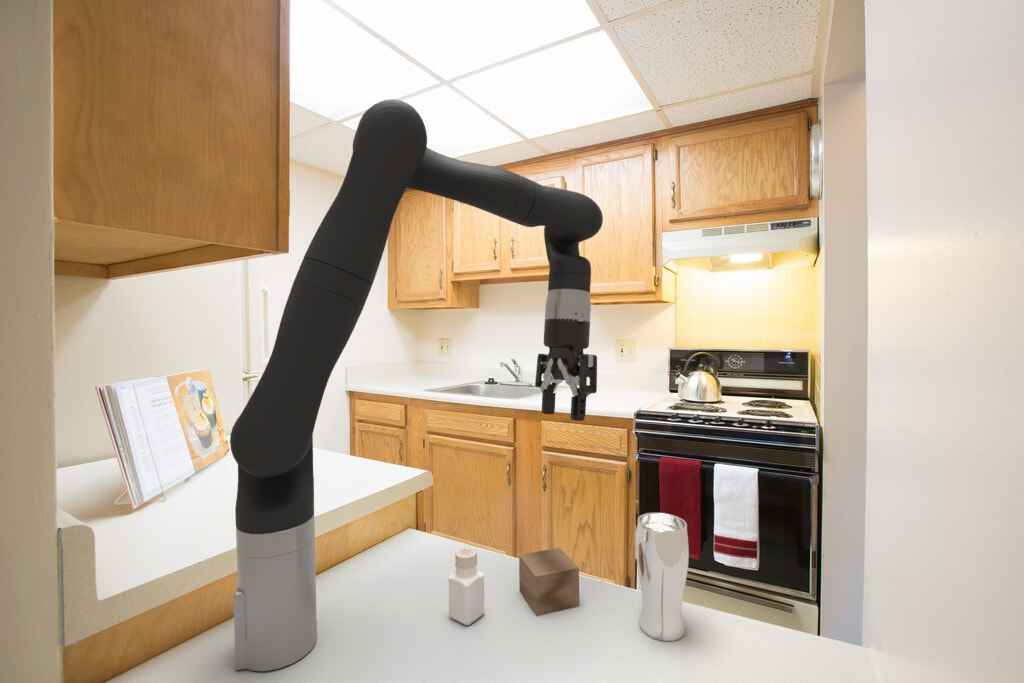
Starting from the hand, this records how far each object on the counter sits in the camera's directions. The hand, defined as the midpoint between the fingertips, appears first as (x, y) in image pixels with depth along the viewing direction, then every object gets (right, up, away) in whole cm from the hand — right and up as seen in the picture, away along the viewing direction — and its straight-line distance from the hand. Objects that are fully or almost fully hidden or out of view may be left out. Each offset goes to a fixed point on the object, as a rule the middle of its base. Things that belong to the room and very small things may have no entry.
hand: (562, 417), depth 78 cm
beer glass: (+13, -28, -12) cm, 33 cm away
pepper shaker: (-15, -28, -9) cm, 33 cm away
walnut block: (-3, -28, -4) cm, 28 cm away
